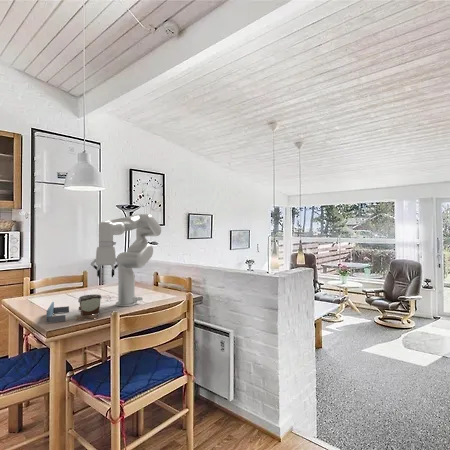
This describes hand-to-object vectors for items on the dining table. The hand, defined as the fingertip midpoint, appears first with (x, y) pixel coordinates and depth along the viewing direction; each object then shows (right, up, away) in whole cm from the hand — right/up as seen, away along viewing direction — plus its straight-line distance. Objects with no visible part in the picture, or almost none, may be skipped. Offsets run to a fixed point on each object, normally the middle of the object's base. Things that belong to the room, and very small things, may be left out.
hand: (105, 277), depth 177 cm
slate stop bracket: (-21, -20, -8) cm, 30 cm away
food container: (-8, -20, -3) cm, 22 cm away
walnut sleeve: (-8, -20, -3) cm, 22 cm away
